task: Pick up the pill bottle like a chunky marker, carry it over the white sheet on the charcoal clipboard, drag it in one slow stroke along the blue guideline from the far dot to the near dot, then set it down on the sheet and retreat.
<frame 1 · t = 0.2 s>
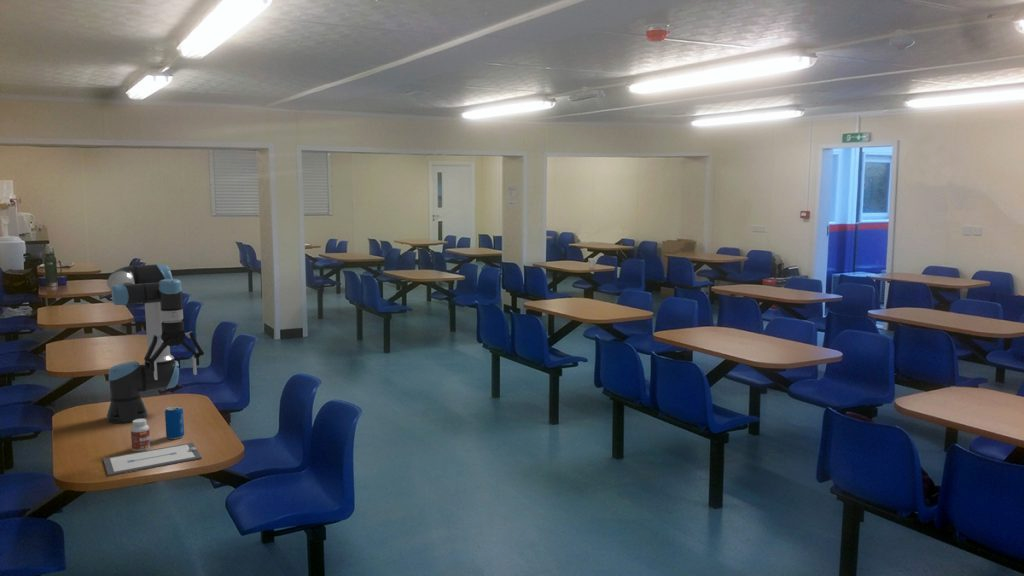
hand: (175, 376, 276), 27 cm above the table, fingers open, 13 cm apart
pill bottle: (141, 449, 277), on the table
beverage can: (175, 437, 289), on the table
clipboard: (152, 459, 266), on the table
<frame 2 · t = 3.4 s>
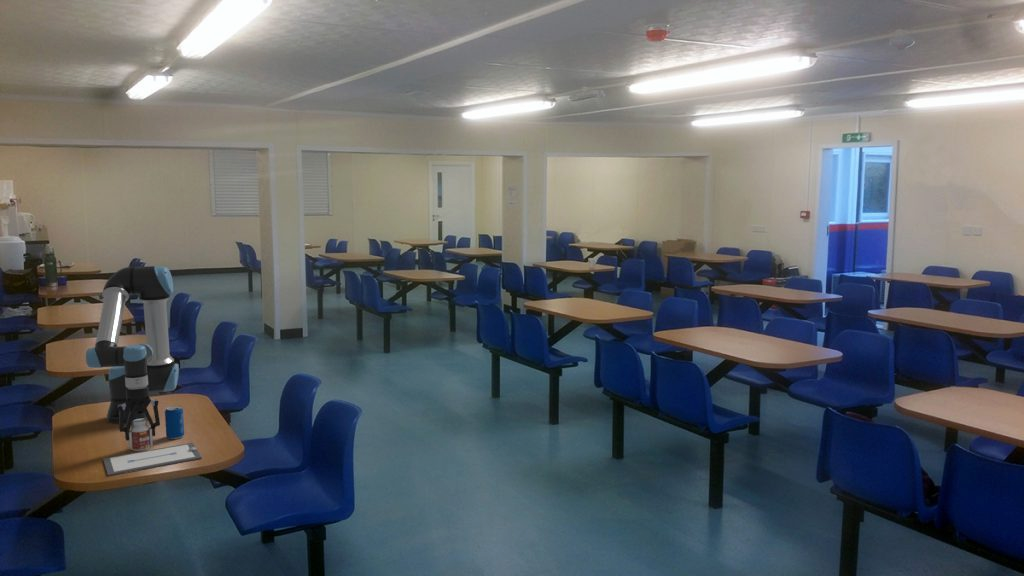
hand: (141, 446, 276), 1 cm above the table, fingers closed on pill bottle, 6 cm apart
pill bottle: (141, 449, 276), on the table, touching gripper
everything else where it was.
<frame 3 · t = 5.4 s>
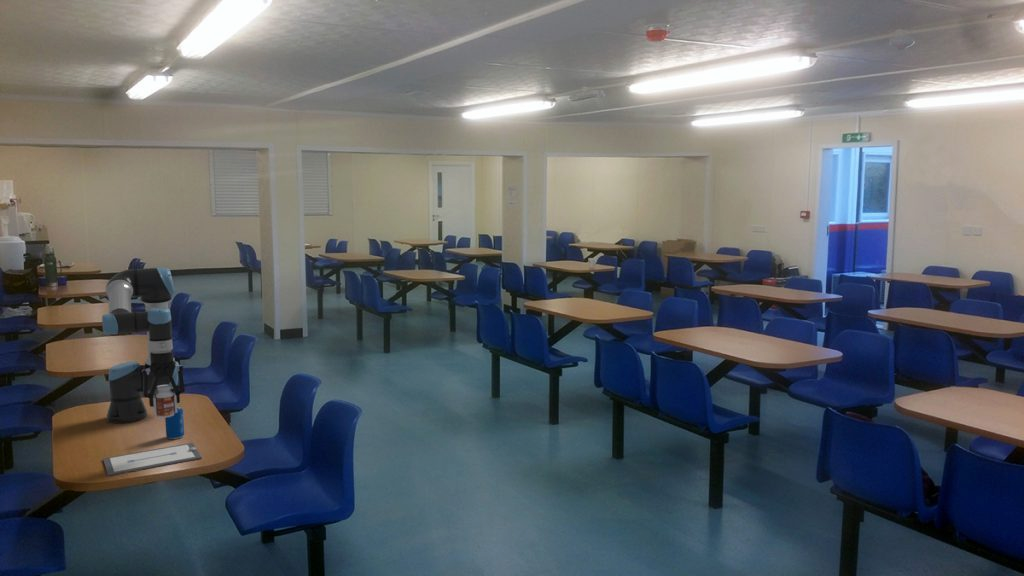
hand: (165, 413, 268), 16 cm above the table, fingers closed on pill bottle, 6 cm apart
pill bottle: (165, 416, 268), point 15 cm above the table, touching gripper
everything else where it was.
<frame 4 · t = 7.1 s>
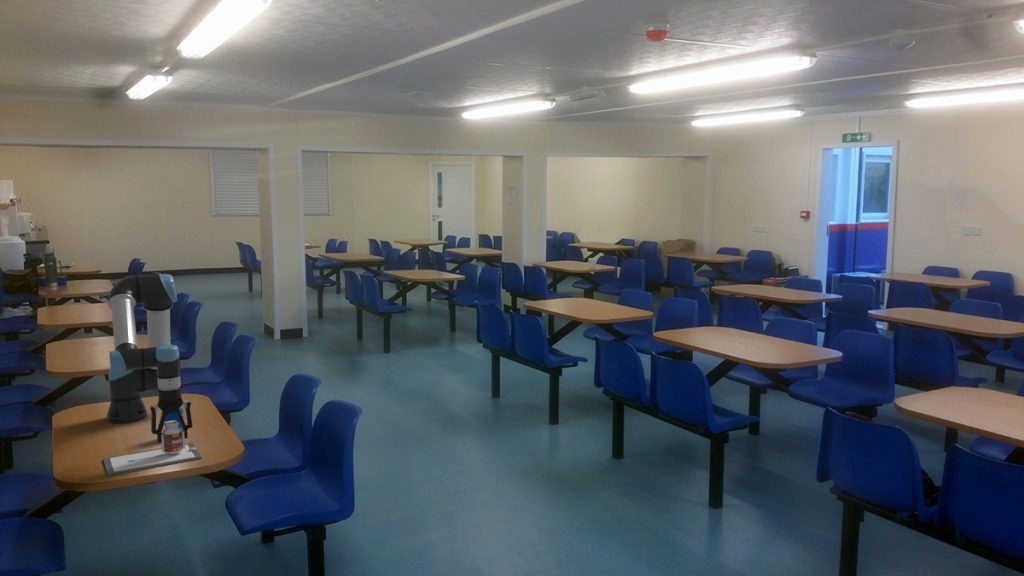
hand: (173, 448, 270), 2 cm above the table, fingers closed on pill bottle, 6 cm apart
pill bottle: (173, 451, 270), point 1 cm above the table, touching gripper
everything else where it was.
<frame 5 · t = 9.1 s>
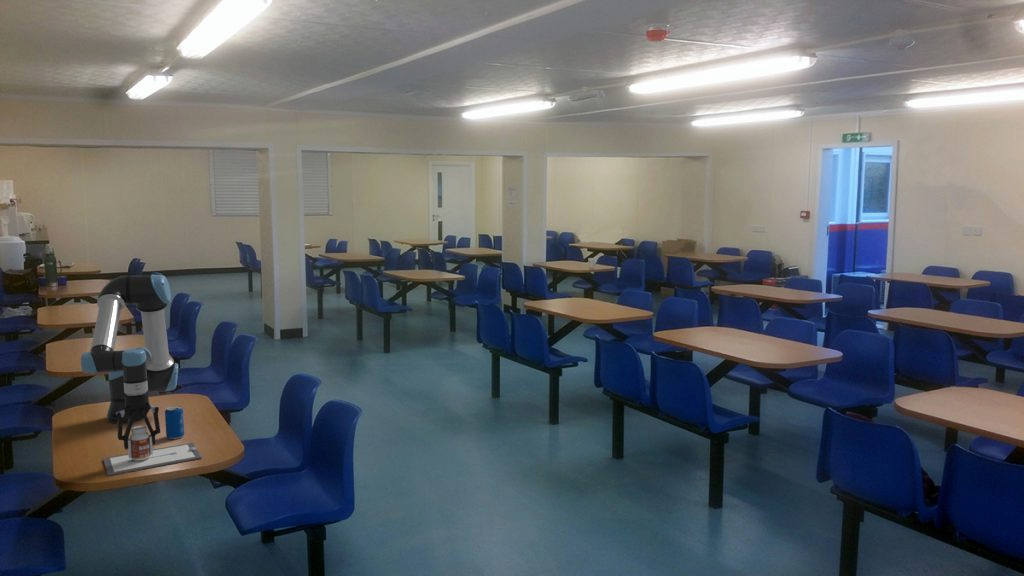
hand: (140, 455, 264), 2 cm above the table, fingers closed on pill bottle, 6 cm apart
pill bottle: (140, 458, 264), point 1 cm above the table, touching gripper
everything else where it was.
when the fingers open (2 cm above the table, at t = 10.8 s): pill bottle stays where it is, resting on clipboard.
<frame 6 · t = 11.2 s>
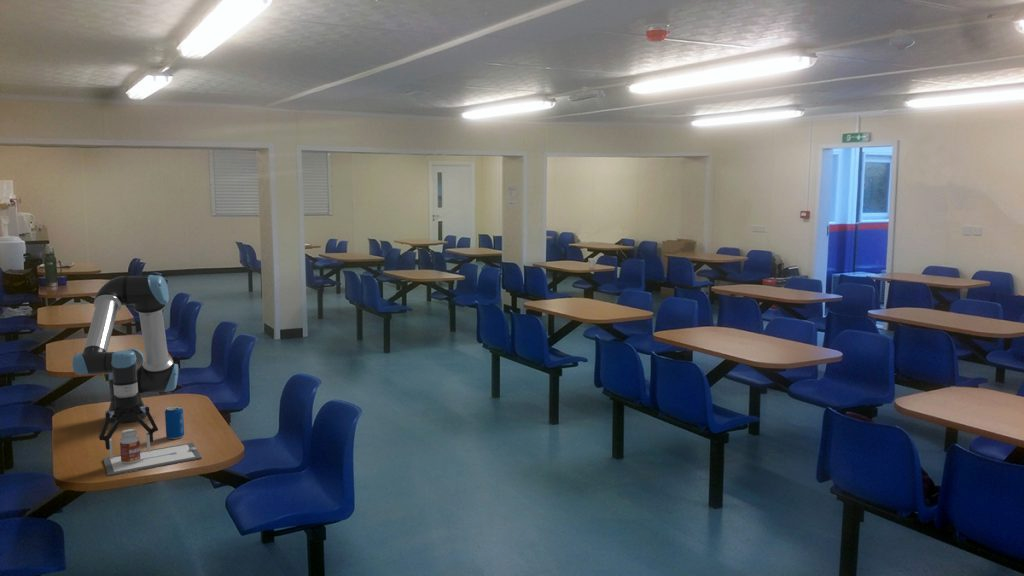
hand: (130, 454, 262), 3 cm above the table, fingers open, 11 cm apart
pill bottle: (131, 461, 262), point 1 cm above the table, touching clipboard
everything else where it was.
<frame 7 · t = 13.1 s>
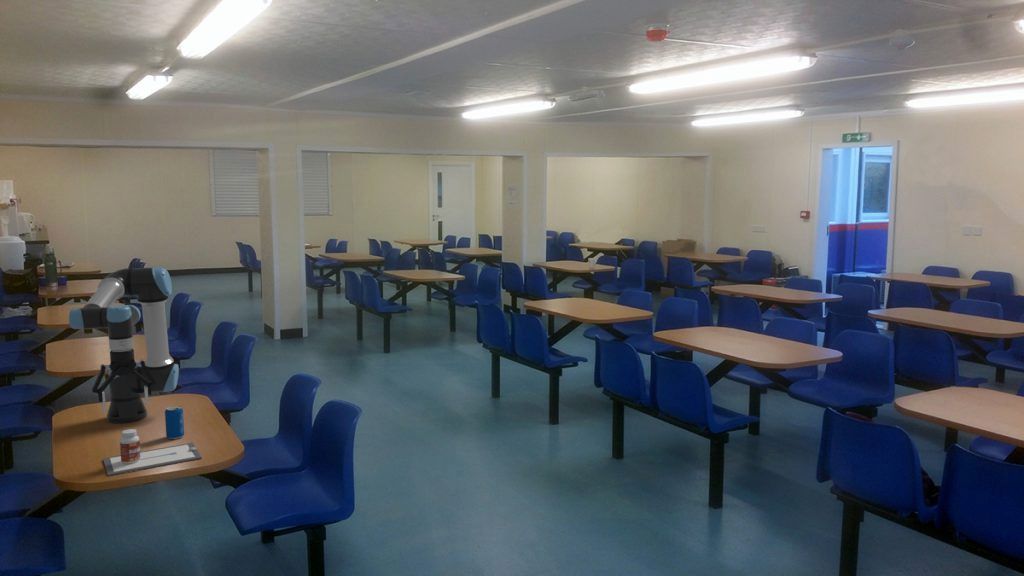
hand: (126, 407, 263), 20 cm above the table, fingers open, 13 cm apart
nothing on the table moved.
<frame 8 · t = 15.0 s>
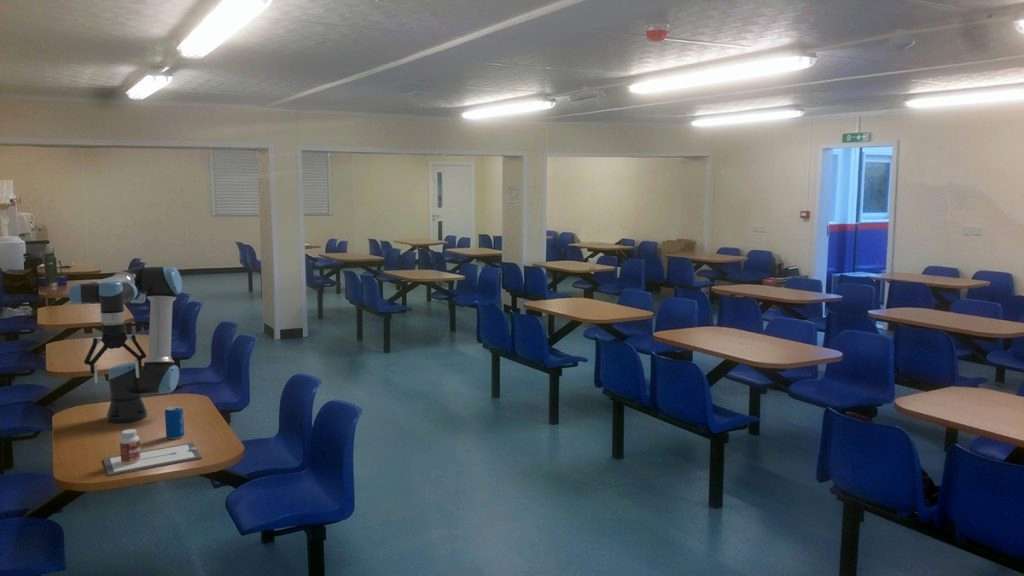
hand: (117, 379, 273), 27 cm above the table, fingers open, 13 cm apart
nothing on the table moved.
at the end: pill bottle inside the target area (0.0 cm from its centre), point 0.6 cm above the table; pill bottle tilted 0°; the gripper is holding nothing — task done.
